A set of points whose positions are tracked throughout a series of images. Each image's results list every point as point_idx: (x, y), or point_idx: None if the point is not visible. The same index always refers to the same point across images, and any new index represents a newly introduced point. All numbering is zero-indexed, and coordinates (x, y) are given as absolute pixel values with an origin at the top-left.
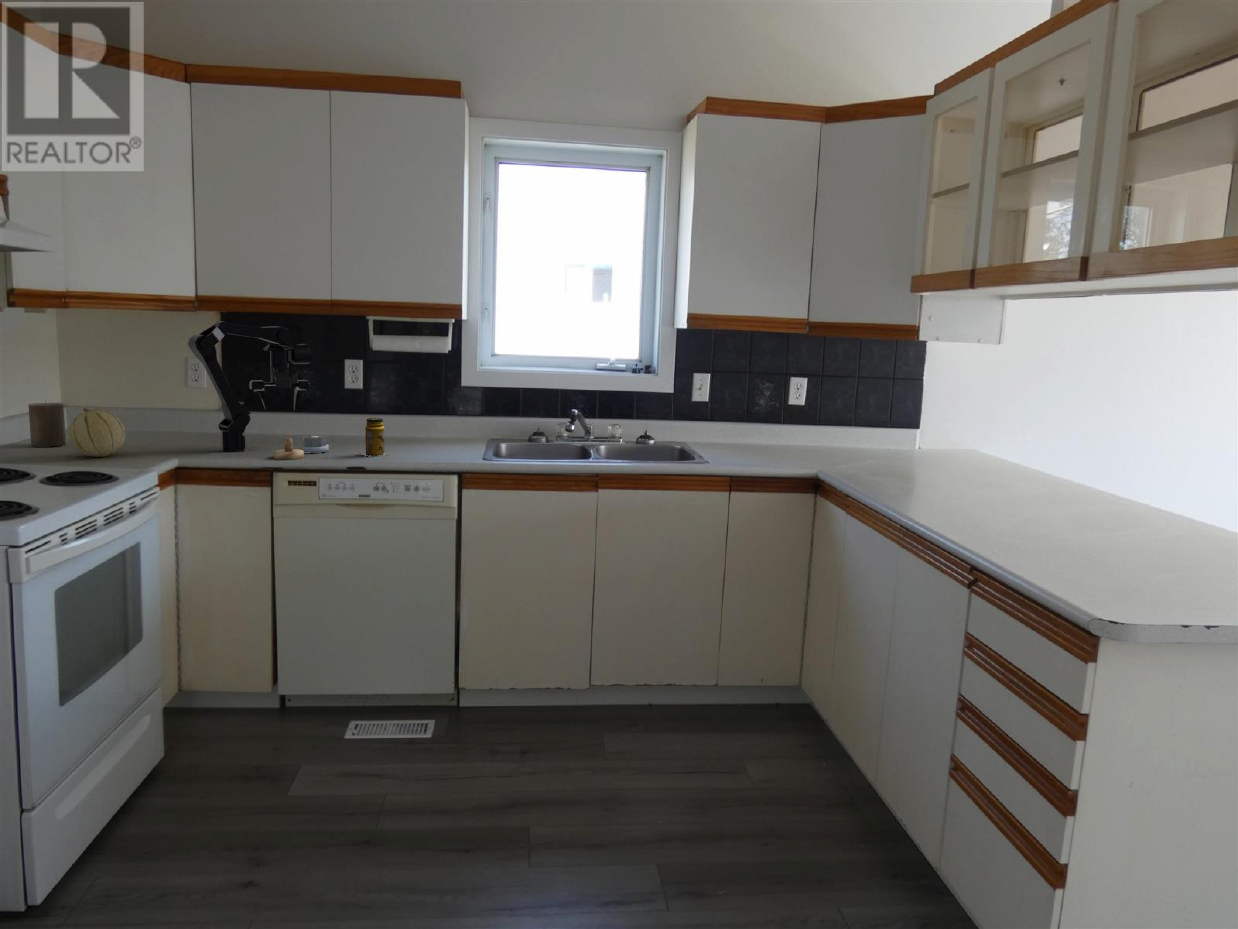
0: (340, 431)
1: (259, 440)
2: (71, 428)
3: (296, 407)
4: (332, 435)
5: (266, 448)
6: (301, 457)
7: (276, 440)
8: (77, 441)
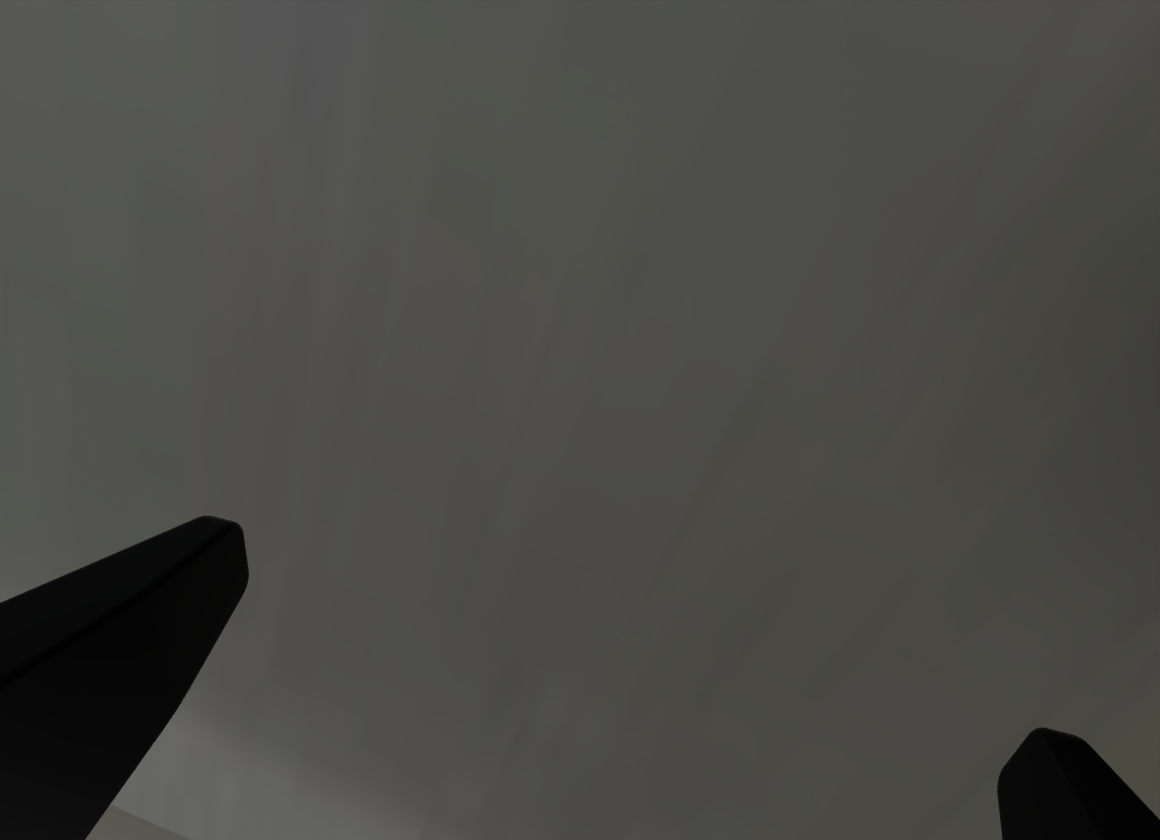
0: None
1: (705, 732)
2: None
3: (138, 546)
4: None
5: (938, 221)
6: None
7: (571, 668)
8: None
